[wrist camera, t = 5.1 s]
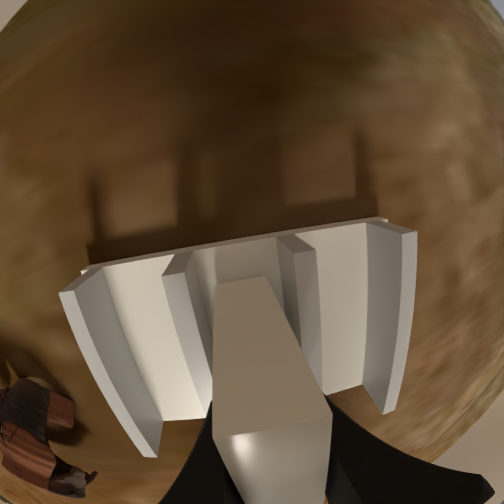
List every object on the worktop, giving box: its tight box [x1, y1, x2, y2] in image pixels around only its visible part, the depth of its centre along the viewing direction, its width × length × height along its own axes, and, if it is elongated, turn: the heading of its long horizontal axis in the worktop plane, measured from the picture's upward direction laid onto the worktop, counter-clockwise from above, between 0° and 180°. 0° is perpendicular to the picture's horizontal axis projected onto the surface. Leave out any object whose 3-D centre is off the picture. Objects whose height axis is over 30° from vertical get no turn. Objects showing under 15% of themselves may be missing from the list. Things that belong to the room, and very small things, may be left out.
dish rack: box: [59, 216, 417, 457], centre depth 12 cm, size 10×15×4 cm, turn 98°
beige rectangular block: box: [212, 276, 333, 504], centre depth 9 cm, size 7×2×8 cm, turn 8°
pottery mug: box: [0, 378, 98, 498], centre depth 12 cm, size 12×10×8 cm
